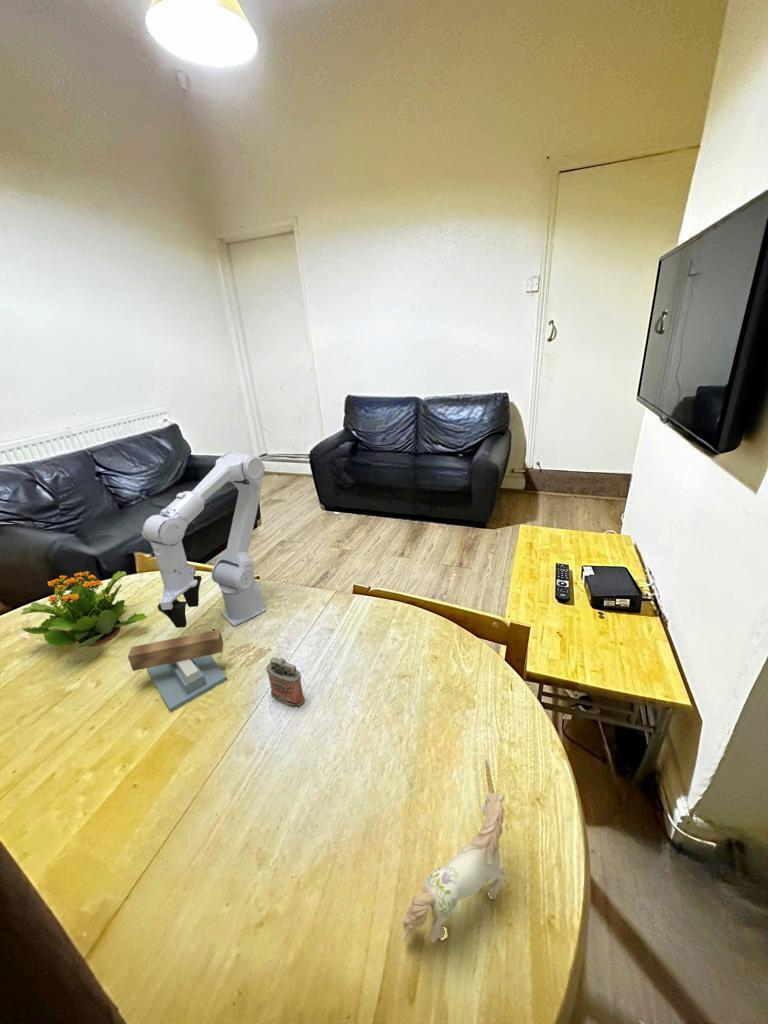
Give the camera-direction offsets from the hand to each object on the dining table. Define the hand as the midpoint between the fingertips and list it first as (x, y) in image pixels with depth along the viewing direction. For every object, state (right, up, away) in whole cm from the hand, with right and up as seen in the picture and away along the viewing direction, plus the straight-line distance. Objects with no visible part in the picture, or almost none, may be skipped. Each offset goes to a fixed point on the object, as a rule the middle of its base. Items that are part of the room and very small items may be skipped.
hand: (187, 615), depth 97 cm
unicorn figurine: (+56, -26, -40) cm, 73 cm away
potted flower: (-27, -8, +10) cm, 30 cm away
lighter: (+26, -15, -11) cm, 32 cm away
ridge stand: (+2, -12, -4) cm, 13 cm away
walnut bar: (+1, -7, -6) cm, 10 cm away
